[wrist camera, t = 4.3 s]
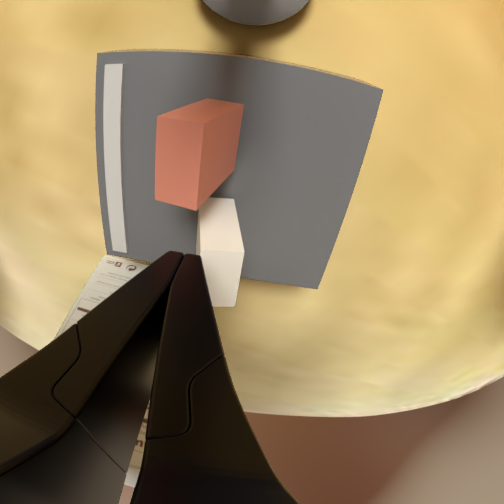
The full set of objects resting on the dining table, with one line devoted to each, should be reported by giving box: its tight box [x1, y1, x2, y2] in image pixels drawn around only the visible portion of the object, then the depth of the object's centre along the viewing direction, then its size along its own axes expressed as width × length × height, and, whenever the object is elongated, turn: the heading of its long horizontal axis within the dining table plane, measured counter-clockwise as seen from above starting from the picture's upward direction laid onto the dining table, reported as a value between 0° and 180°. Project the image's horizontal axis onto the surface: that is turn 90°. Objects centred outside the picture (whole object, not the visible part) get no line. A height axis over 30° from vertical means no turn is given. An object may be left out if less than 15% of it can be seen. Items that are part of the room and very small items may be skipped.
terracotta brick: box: [155, 98, 244, 211], centre depth 10 cm, size 1×3×4 cm, turn 171°
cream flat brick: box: [196, 197, 244, 307], centre depth 12 cm, size 1×3×4 cm, turn 171°
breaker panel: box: [95, 49, 383, 289], centre depth 14 cm, size 11×10×3 cm
